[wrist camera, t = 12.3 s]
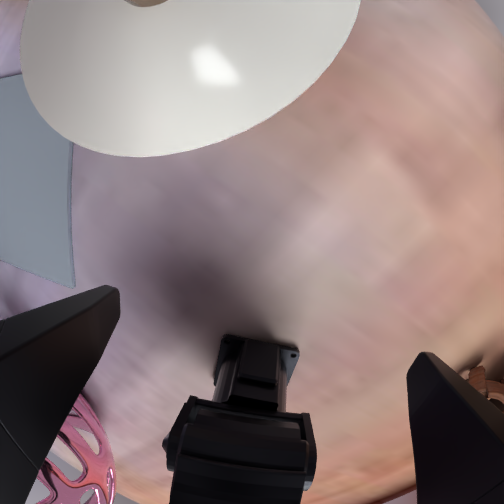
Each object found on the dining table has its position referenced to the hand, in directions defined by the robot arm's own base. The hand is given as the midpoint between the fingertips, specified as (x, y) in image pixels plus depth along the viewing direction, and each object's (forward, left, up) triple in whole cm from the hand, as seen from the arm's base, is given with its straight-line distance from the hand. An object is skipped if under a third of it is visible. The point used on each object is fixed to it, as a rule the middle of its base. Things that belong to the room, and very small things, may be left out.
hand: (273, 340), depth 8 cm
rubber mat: (-1, +26, -13) cm, 29 cm away
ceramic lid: (+12, +8, -7) cm, 16 cm away
